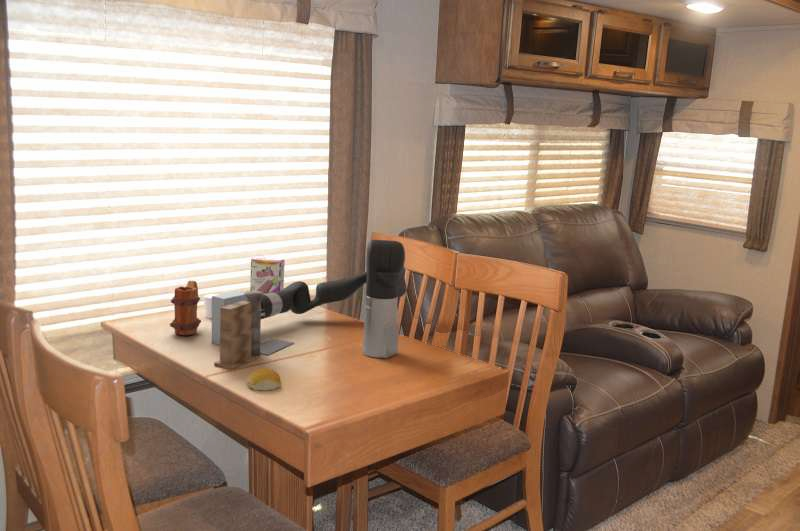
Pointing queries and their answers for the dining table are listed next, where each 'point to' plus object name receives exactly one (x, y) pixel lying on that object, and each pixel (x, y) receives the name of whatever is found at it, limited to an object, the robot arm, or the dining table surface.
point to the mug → (186, 309)
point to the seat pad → (273, 346)
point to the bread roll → (264, 380)
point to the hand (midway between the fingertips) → (224, 315)
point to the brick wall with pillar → (240, 331)
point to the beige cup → (208, 304)
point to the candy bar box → (267, 274)
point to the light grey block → (217, 303)
